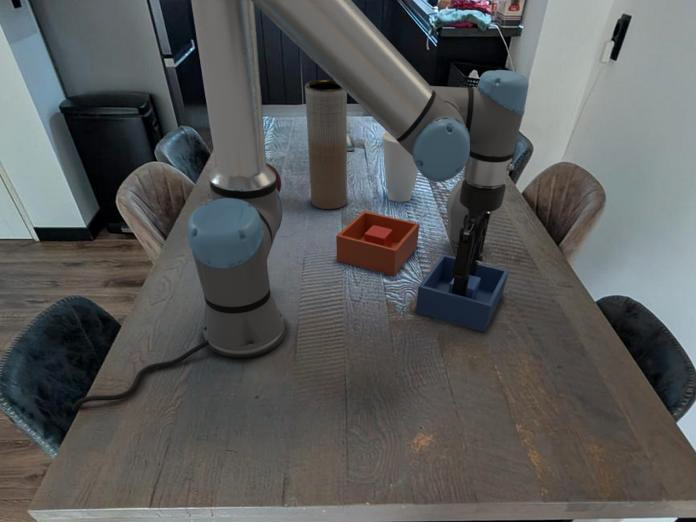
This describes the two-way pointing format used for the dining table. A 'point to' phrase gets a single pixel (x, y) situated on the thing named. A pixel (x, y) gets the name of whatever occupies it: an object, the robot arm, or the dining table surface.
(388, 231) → the red block
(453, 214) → the bottle
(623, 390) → the dining table surface
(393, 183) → the cup
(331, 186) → the vase
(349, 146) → the smartphone
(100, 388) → the dining table surface
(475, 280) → the blue block
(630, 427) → the dining table surface
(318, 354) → the dining table surface
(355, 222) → the red bin
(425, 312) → the blue bin
